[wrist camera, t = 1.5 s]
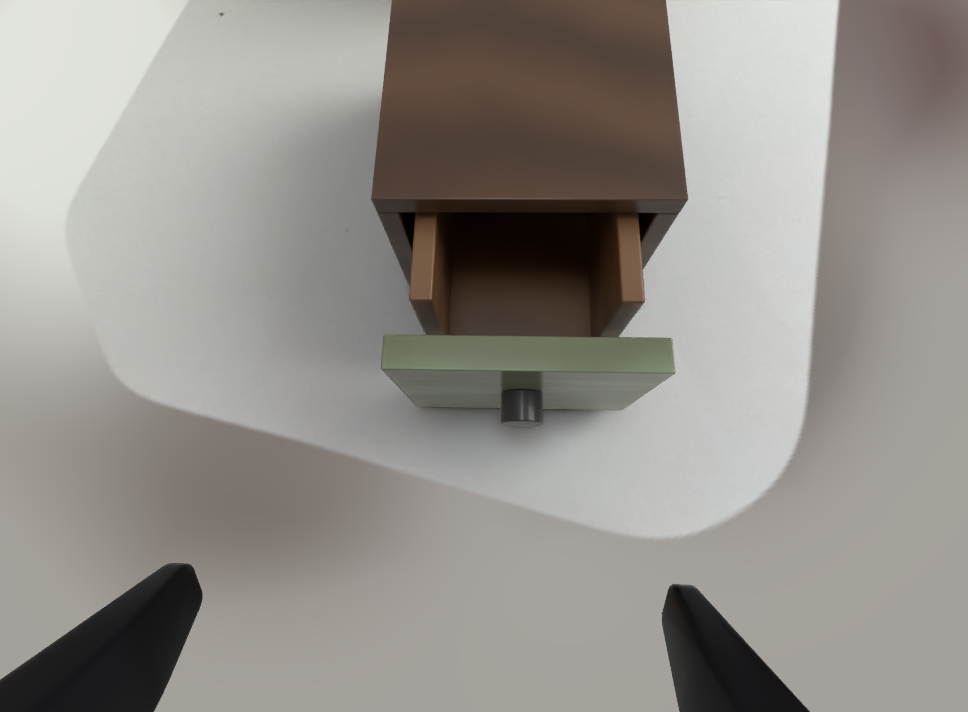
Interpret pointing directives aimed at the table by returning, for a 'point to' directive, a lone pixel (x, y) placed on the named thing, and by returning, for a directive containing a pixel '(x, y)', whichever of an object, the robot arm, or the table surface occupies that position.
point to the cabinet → (528, 113)
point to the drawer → (526, 315)
